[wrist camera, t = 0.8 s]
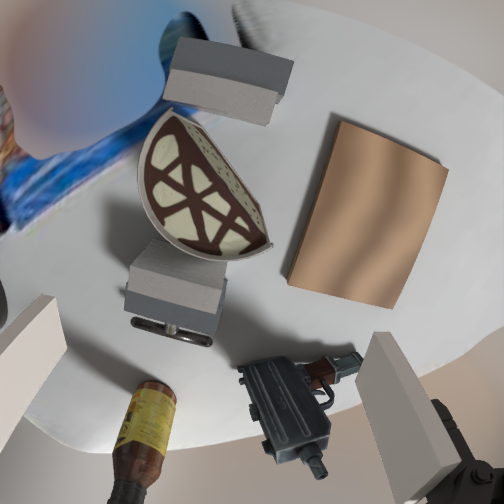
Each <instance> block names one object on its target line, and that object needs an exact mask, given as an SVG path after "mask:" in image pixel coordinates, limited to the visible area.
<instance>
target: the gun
mask: <svg viewBox="0 0 504 504" xmlns="http://www.w3.org/2000/svg"><path fill="white" fill-rule="evenodd" d="M363 360H364V359H363V358H362V357H361V355H360V354H359V353H358V352H354V353H351V355H350V356H347V357H344V358H341V359H338V360H334V359H333V358H332V357H331V356H330V355H329V356H325V357H324V358H323V359H321V360H319V361H317V362H314V363H309V364H297V365H295V363H293V362H292V361H290V360H289V359H287V358H286V357H284V356H280V357H276V358H271V359H267V360H263V361H259V362H254V363H250V364H245V365H241V366H237V369H238V372H239V373H243V377H242V378H240V379H239V383H240V385H243V384H245V385H246V388H247V391H248V393H249V396H250V399H251V401H252V404H249V407H250V409H249V411H250V415H251V418H252V420H253V422H254V421H258V420H259V422H260V424H261V427H262V429H263V432H264V434H265V437H266V439H267V440H265V441H263V442H262V445H263V448H264V451H265V453H266V454H268V455H272V456H273V457H274V459H275V461H276V464H277V465H279V464H282V463H286V462H289V461H292V460H295V459H299V458H300V459H301V461H302V463H303V464H304V465H309V467H310V469H311V471H312V473H313V474H314V477H315V478H316V479H317V480H321V479H324V478H325V477H327V476H328V472H327V470H326V468H325V466H324V465H323V463H322V461H321V458H322V457H323V454H322V452H321V451H322V450H325V449H327V445H328V439H329V435H330V429H331V422H330V421H329V419H328V417H327V416H326V414H325V413H324V410H327V409H329V408H330V407H331V406H332V405H333V403H334V397H335V396H334V392H333V390H332V389H331V387H330V386H329V385H331V384H337V383H339V382H340V378H343V377H345V376H348V375H351V374H354V373H357V372H359V370H360V367H361V365H362V362H363ZM322 387H323V389H324V390H325V392H326V393H327V395H328V396H329V398H330V399H329V400H328V401H327V402H324V403H321V404H319V403H318V401H317V400H316V398H315V396H314V395H325V394H326V393H325V392H323V391H321V390H316V389H319V388H322Z"/></svg>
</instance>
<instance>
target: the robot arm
mask: <svg viewBox="0 0 504 504" xmlns="http://www.w3.org/2000/svg"><path fill="white" fill-rule="evenodd" d="M7 314H8V309H7V301H6V297H5V293H4V290H3V287H2V285H1V282H0V329H1V328H2V327H3V326H4V324H5V323H6V320H7ZM66 350H67V345H66V341H65V337H64V333H63V329H62V325H61V321H60V317H59V312H58V307H57V303H56V298H55V297H53V296H48V295H44V294H42V295H41V296H40V297H38V298H37V299H36V300H35V301H34V302H33V303H32V304H31V305H30V306H29V307H28V308H27V309H26V310H25V311H24V312H23V313H22V314H21V315H20V316H19V317H18V318H17V319H16V320H15V321H14V322H13V323H12V324H11V325H10V326H9V327H8V328H7V329H6V330H5V331H4V332H3V333H2V334H1V335H0V453H1V451H2V449H3V447H4V446H5V444H6V442H7V440H8V439H9V437H10V435H11V433H12V432H13V430H14V429H15V427H16V425H17V424H18V422H19V420H20V419H21V417H22V415H23V414H24V412H25V411H26V409H27V407H28V406H29V404H30V403H31V401H32V400H33V398H34V397H35V395H36V393H37V392H38V390H39V389H40V387H41V386H42V384H43V383H44V381H45V380H46V378H47V377H48V376H49V374H50V373H51V371H52V370H53V368H54V367H55V365H56V364H57V362H58V361H59V360H60V358H61V357H62V355H63V354H64V353H65V351H66ZM355 383H356V386H357V389H358V391H359V394H360V397H361V400H362V402H363V405H364V408H365V411H366V414H367V417H368V419H369V422H370V425H371V428H372V431H373V434H374V437H375V440H376V443H377V446H378V449H379V452H380V455H381V458H382V461H383V464H384V467H385V470H386V473H387V476H388V480H389V483H390V486H391V490H392V493H393V496H394V499H395V503H396V504H417V503H418V502H419V501H420V500H421V499H423V497H425V496H426V498H427V501H428V502H427V503H426V504H504V468H495V469H493V468H492V467H491V466H490V465H489V464H488V463H487V462H485V461H481V460H475V458H474V457H473V455H472V453H471V451H470V449H469V447H468V445H467V443H466V441H465V440H464V437H463V436H462V434H461V432H460V430H459V429H457V425H456V423H455V421H454V420H453V417H452V416H451V414H450V412H449V410H448V409H447V407H446V406H445V405H443V404H442V403H441V402H440V401H439V400H438V399H433V400H430V399H429V397H428V395H427V394H426V392H425V390H424V388H423V387H422V385H421V383H420V381H419V379H418V378H417V376H416V374H415V373H414V371H413V369H412V367H411V366H410V364H409V362H408V361H407V359H406V357H405V356H404V354H403V352H402V351H401V349H400V347H399V346H398V344H397V342H396V341H395V339H394V337H393V336H392V334H391V333H390V332H374V333H373V336H372V339H371V341H370V344H369V347H368V349H367V352H366V355H365V357H364V360H363V362H362V365H361V367H360V370H359V372H358V375H357V377H356V379H355Z"/></svg>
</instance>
